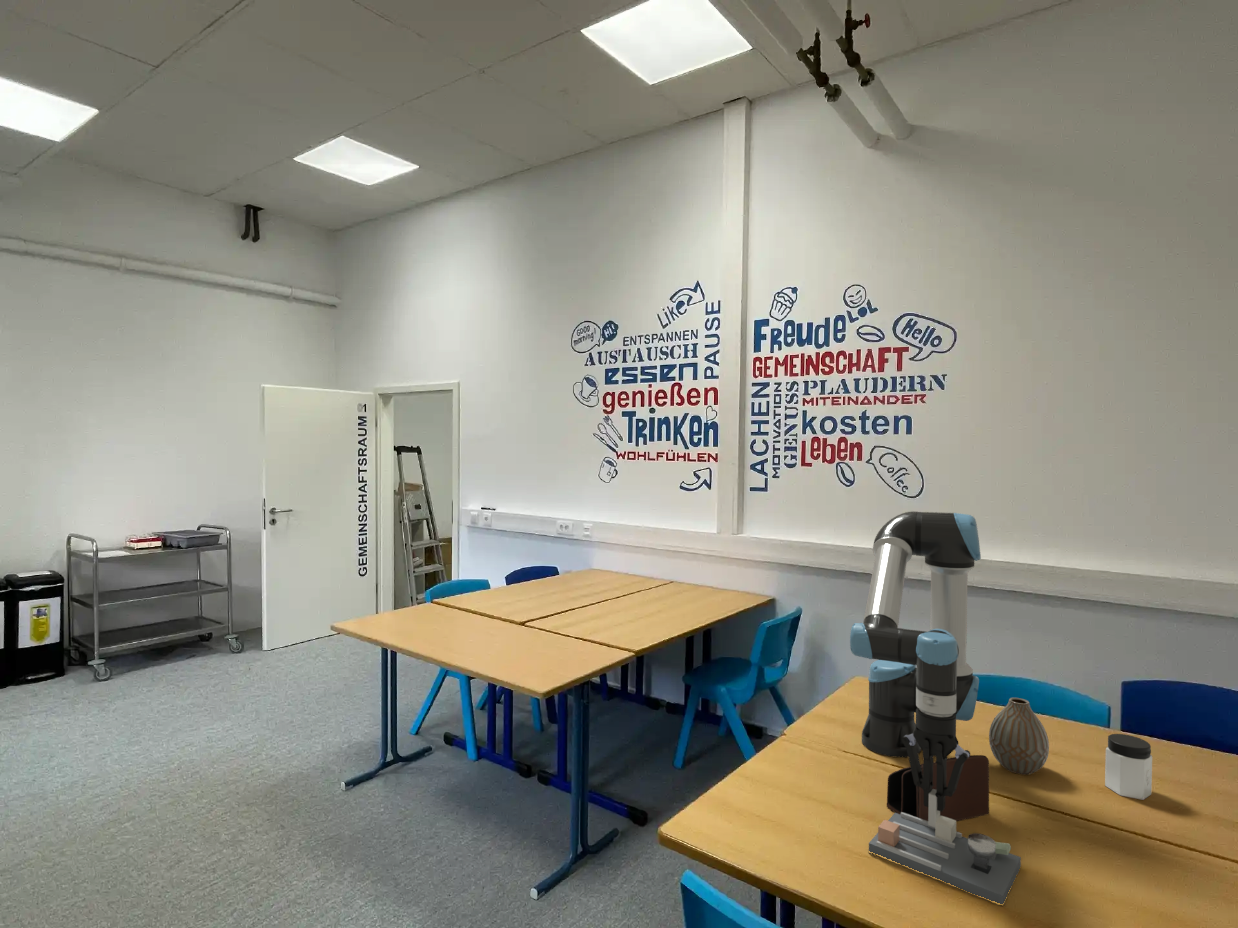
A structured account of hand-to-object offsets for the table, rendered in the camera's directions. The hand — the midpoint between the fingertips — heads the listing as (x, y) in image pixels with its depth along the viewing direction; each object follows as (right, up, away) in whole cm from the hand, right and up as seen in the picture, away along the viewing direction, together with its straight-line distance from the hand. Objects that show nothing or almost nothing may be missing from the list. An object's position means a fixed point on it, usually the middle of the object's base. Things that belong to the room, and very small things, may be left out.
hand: (934, 823), depth 138 cm
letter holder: (+7, -4, +13) cm, 15 cm away
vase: (+37, -4, +33) cm, 49 cm away
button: (+4, -2, -11) cm, 12 cm away
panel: (-1, -4, -5) cm, 7 cm away
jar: (+57, -4, +22) cm, 61 cm away
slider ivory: (+2, -2, -1) cm, 3 cm away
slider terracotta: (-10, -2, -3) cm, 11 cm away
